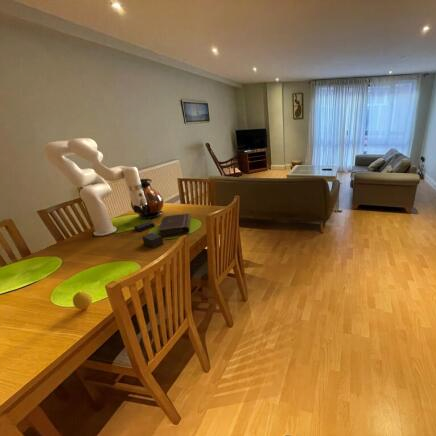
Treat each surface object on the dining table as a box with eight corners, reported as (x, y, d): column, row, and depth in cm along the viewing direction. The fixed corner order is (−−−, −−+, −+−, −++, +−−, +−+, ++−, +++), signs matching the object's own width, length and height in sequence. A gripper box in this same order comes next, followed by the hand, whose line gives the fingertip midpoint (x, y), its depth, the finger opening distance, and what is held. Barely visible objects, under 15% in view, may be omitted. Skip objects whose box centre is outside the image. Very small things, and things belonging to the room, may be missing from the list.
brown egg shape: (83, 303, 97) (76, 288, 94) (98, 302, 98) (91, 287, 95) (73, 314, 92) (65, 297, 89) (88, 313, 93) (81, 296, 89)
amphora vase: (142, 211, 195) (133, 177, 184) (170, 210, 197) (162, 176, 186) (129, 222, 175) (117, 185, 164) (160, 220, 177) (150, 183, 166)
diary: (190, 219, 178) (189, 212, 176) (189, 232, 157) (188, 226, 155) (163, 222, 173) (161, 216, 171) (158, 237, 151) (156, 230, 149)
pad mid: (143, 240, 143) (141, 236, 142) (152, 236, 147) (151, 232, 146) (152, 244, 138) (151, 240, 137) (162, 240, 142) (161, 236, 141)
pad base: (144, 244, 144) (142, 240, 143) (153, 240, 148) (152, 236, 147) (153, 248, 139) (152, 244, 138) (163, 243, 143) (162, 240, 142)
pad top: (139, 231, 160) (138, 228, 159) (135, 229, 163) (134, 226, 162) (154, 226, 168) (153, 222, 166) (149, 224, 170) (148, 221, 169)
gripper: (148, 188, 144) (154, 214, 151) (134, 184, 153) (140, 209, 160) (135, 191, 138) (142, 218, 145) (121, 186, 147) (128, 212, 154)
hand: (141, 213), depth 152 cm, fingers open, 9 cm apart
